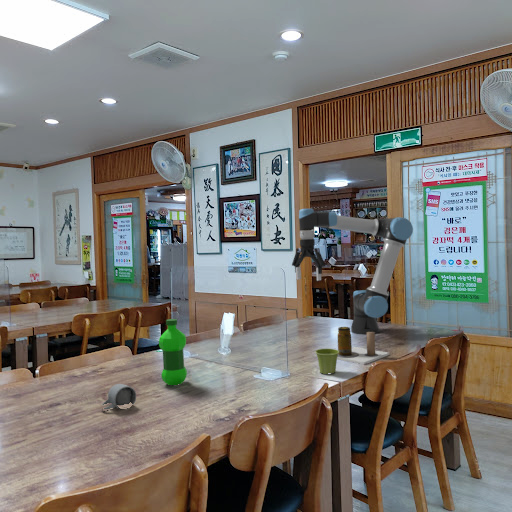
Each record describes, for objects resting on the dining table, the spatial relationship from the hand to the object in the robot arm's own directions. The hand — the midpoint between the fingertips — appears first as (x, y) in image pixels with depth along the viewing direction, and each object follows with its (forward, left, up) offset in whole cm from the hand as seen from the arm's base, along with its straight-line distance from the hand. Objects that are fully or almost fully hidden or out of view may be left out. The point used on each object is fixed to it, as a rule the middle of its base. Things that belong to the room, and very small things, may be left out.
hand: (308, 279), depth 244 cm
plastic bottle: (+87, +4, -32) cm, 93 cm away
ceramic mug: (+114, +10, -32) cm, 119 cm away
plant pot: (+39, +41, -32) cm, 65 cm away
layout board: (+11, +37, -32) cm, 50 cm away
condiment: (+15, +33, -31) cm, 48 cm away
